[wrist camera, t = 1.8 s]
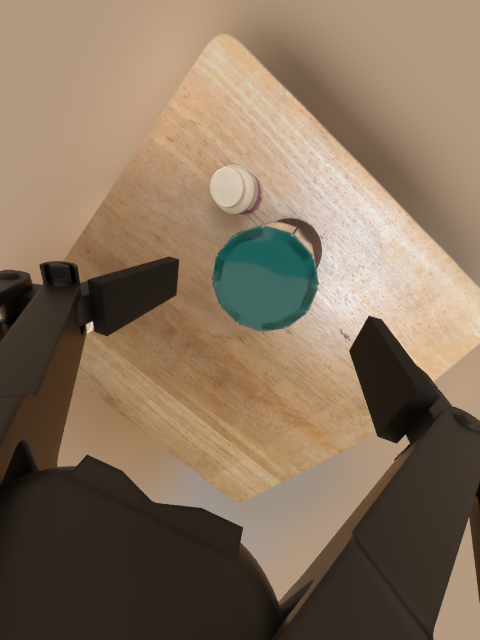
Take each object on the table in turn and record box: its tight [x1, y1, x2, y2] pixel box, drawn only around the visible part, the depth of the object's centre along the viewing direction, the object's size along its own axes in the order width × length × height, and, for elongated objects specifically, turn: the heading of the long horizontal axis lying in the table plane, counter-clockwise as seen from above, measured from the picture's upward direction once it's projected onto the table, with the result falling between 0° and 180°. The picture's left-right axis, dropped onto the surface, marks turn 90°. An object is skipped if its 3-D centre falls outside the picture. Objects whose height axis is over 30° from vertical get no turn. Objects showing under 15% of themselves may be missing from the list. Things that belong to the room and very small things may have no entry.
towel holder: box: [275, 218, 322, 269], centre depth 26 cm, size 10×10×20 cm
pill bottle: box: [210, 164, 263, 214], centre depth 28 cm, size 5×5×10 cm
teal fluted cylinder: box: [212, 222, 319, 331], centre depth 21 cm, size 8×8×10 cm
